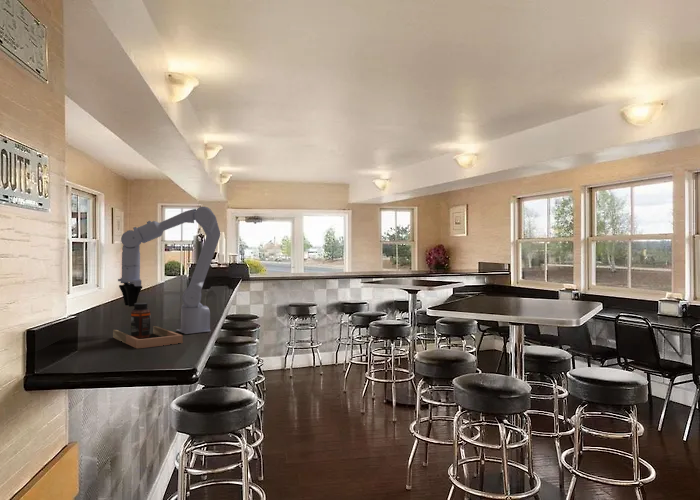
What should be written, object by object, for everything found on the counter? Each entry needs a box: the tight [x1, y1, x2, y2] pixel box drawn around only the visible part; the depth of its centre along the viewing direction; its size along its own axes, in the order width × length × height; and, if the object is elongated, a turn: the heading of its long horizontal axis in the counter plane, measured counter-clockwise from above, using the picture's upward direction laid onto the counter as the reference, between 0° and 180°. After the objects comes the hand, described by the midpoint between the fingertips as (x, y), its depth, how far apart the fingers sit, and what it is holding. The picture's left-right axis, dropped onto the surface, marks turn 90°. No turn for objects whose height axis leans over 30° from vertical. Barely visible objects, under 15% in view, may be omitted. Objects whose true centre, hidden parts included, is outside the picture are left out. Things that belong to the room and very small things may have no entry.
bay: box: [112, 325, 184, 350], centre depth 164 cm, size 14×22×2 cm, turn 42°
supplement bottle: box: [130, 302, 151, 339], centre depth 168 cm, size 6×6×11 cm
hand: (130, 305), depth 175 cm, fingers open, 3 cm apart
